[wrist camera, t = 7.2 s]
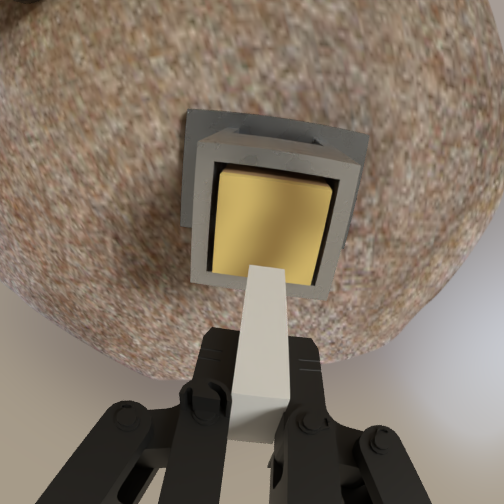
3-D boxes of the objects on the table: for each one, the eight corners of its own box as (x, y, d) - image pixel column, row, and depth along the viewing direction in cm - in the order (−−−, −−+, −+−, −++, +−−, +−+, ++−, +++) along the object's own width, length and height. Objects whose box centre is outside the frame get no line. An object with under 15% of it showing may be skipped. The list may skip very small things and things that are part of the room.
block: (235, 208, 34) (212, 272, 22) (242, 146, 31) (220, 174, 19) (297, 216, 34) (310, 285, 22) (308, 155, 31) (332, 190, 18)
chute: (182, 223, 38) (136, 290, 24) (189, 108, 31) (132, 113, 18) (342, 245, 37) (373, 322, 24) (366, 134, 31) (426, 157, 18)
